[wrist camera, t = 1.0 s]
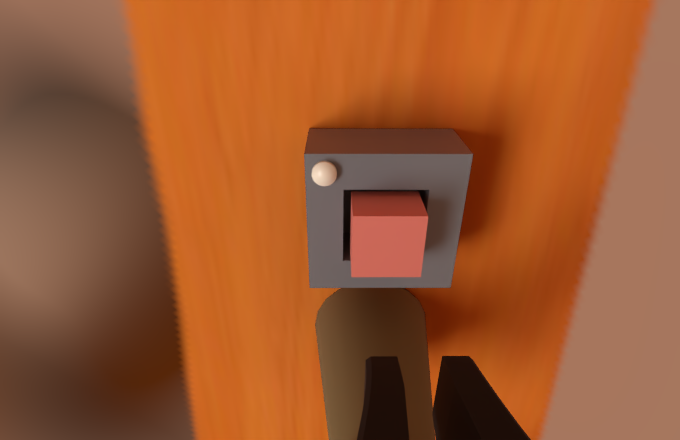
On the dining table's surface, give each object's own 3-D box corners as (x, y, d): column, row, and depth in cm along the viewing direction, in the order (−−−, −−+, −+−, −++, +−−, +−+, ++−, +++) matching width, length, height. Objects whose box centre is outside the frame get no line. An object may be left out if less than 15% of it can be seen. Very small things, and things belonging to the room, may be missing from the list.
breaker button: (412, 247, 17) (420, 277, 16) (350, 247, 17) (351, 277, 16) (418, 191, 16) (428, 216, 14) (351, 191, 16) (352, 216, 14)
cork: (293, 314, 22) (260, 561, 13) (388, 261, 21) (433, 499, 11) (355, 377, 25) (366, 623, 15) (445, 334, 23) (522, 580, 14)
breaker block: (435, 248, 20) (451, 291, 18) (313, 248, 20) (309, 291, 17) (452, 128, 17) (475, 156, 15) (309, 128, 17) (303, 156, 15)
